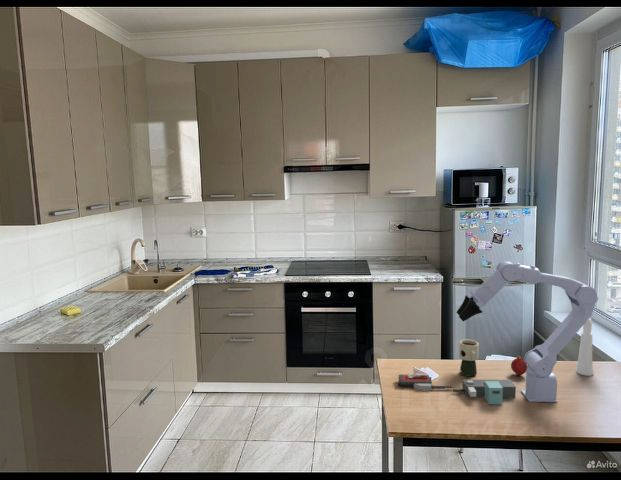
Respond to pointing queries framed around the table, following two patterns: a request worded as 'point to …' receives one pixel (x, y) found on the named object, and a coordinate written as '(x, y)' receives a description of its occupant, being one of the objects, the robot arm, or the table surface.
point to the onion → (519, 366)
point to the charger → (493, 392)
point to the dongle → (472, 391)
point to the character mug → (468, 356)
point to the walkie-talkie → (418, 382)
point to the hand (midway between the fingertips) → (459, 316)
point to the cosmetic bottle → (585, 351)
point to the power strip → (479, 386)
